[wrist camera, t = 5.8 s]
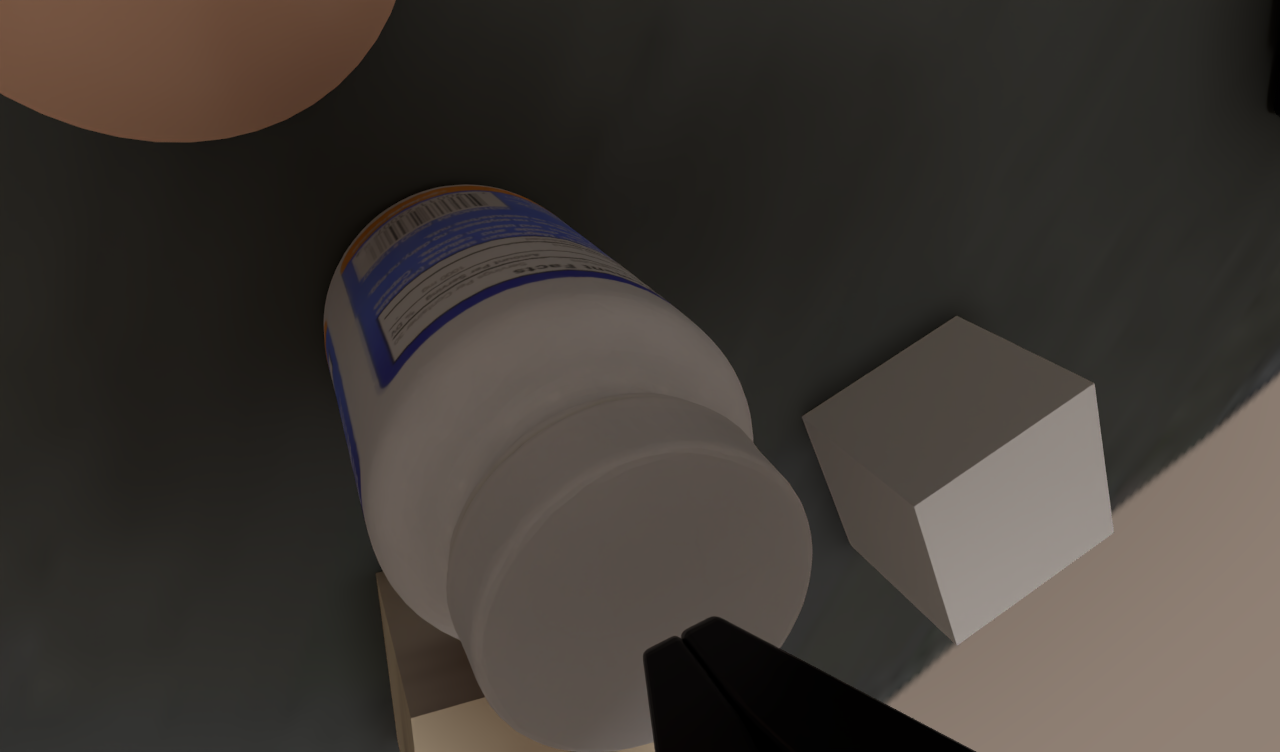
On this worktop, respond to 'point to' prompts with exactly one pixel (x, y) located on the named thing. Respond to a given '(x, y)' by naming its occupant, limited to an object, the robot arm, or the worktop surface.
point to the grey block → (965, 472)
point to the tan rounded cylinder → (181, 61)
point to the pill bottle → (551, 460)
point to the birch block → (441, 689)
